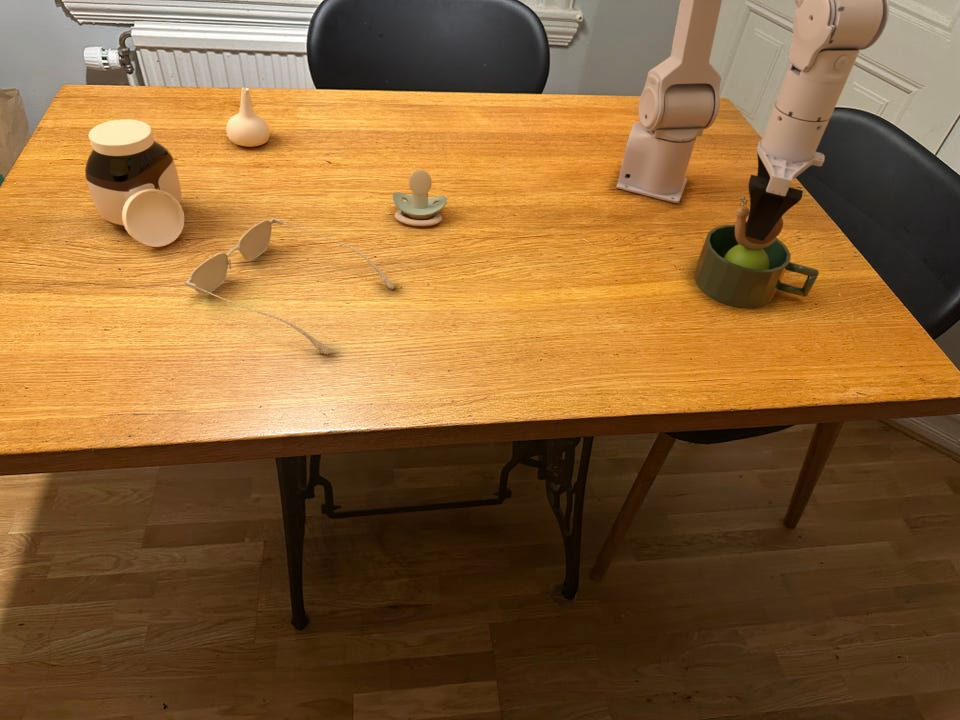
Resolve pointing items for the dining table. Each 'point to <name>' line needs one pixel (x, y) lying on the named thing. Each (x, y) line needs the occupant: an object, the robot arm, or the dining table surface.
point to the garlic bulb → (247, 125)
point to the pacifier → (419, 202)
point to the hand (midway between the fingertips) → (757, 221)
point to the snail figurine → (750, 243)
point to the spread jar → (134, 182)
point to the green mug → (745, 272)
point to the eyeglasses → (250, 248)
